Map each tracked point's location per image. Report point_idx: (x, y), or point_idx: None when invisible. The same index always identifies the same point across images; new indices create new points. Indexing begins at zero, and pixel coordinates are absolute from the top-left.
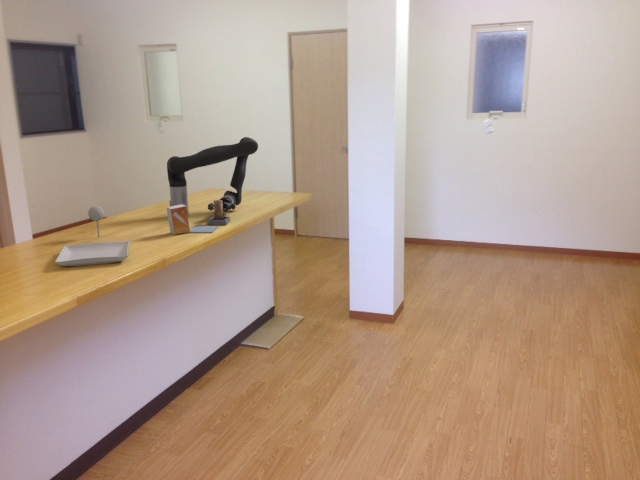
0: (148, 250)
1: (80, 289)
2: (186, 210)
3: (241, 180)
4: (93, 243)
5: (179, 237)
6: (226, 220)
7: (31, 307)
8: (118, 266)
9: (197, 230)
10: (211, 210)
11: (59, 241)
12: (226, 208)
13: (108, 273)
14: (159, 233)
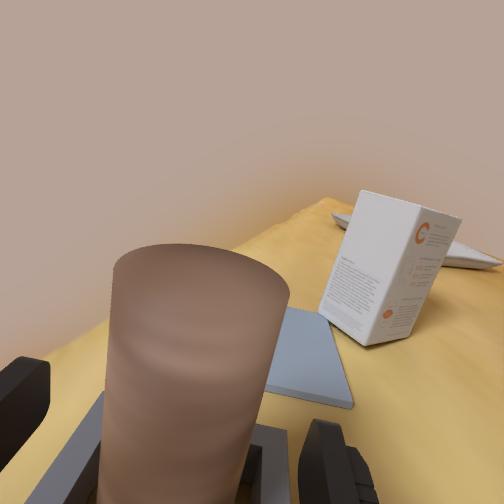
0: (338, 245)
1: (324, 206)
2: (353, 212)
3: None
4: (462, 256)
5: (324, 287)
6: (84, 423)
7: (335, 202)
8: (332, 222)
9: (290, 320)
10: (299, 461)
11: None
12: (44, 377)
13: (327, 215)
14: (449, 341)
